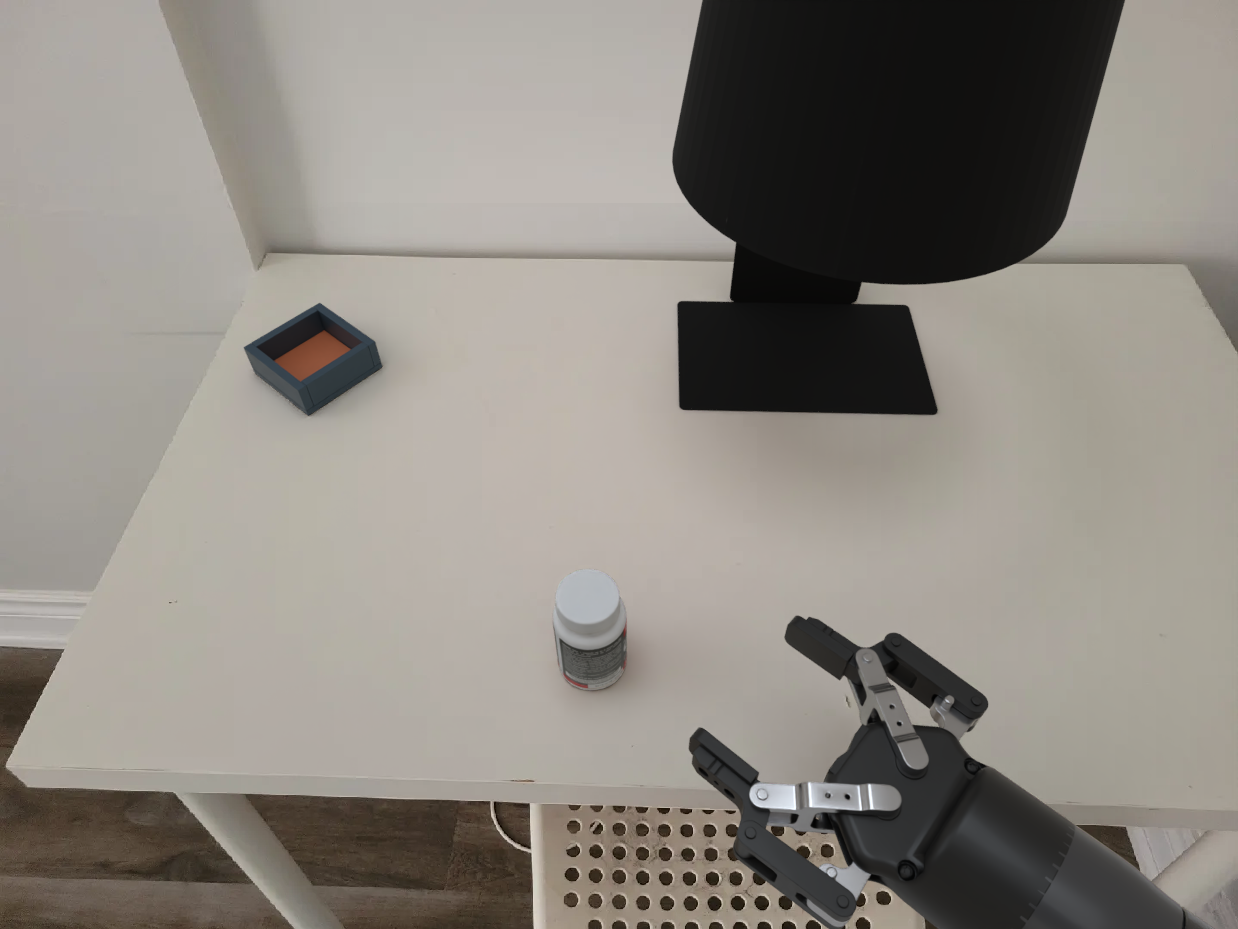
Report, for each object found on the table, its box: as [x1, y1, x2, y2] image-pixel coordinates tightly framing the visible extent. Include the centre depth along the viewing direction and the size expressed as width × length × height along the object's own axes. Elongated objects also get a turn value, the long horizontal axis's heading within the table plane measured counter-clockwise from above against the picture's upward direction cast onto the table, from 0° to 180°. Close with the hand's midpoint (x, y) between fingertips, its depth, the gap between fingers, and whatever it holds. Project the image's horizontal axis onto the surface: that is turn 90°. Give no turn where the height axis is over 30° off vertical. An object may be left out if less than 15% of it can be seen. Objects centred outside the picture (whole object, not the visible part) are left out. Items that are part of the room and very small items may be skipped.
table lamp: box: [671, 0, 1126, 416], centre depth 61 cm, size 26×28×40 cm
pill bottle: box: [552, 568, 628, 691], centre depth 57 cm, size 5×5×8 cm
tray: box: [243, 302, 383, 416], centre depth 78 cm, size 8×8×3 cm
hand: (743, 680), depth 47 cm, fingers open, 8 cm apart
